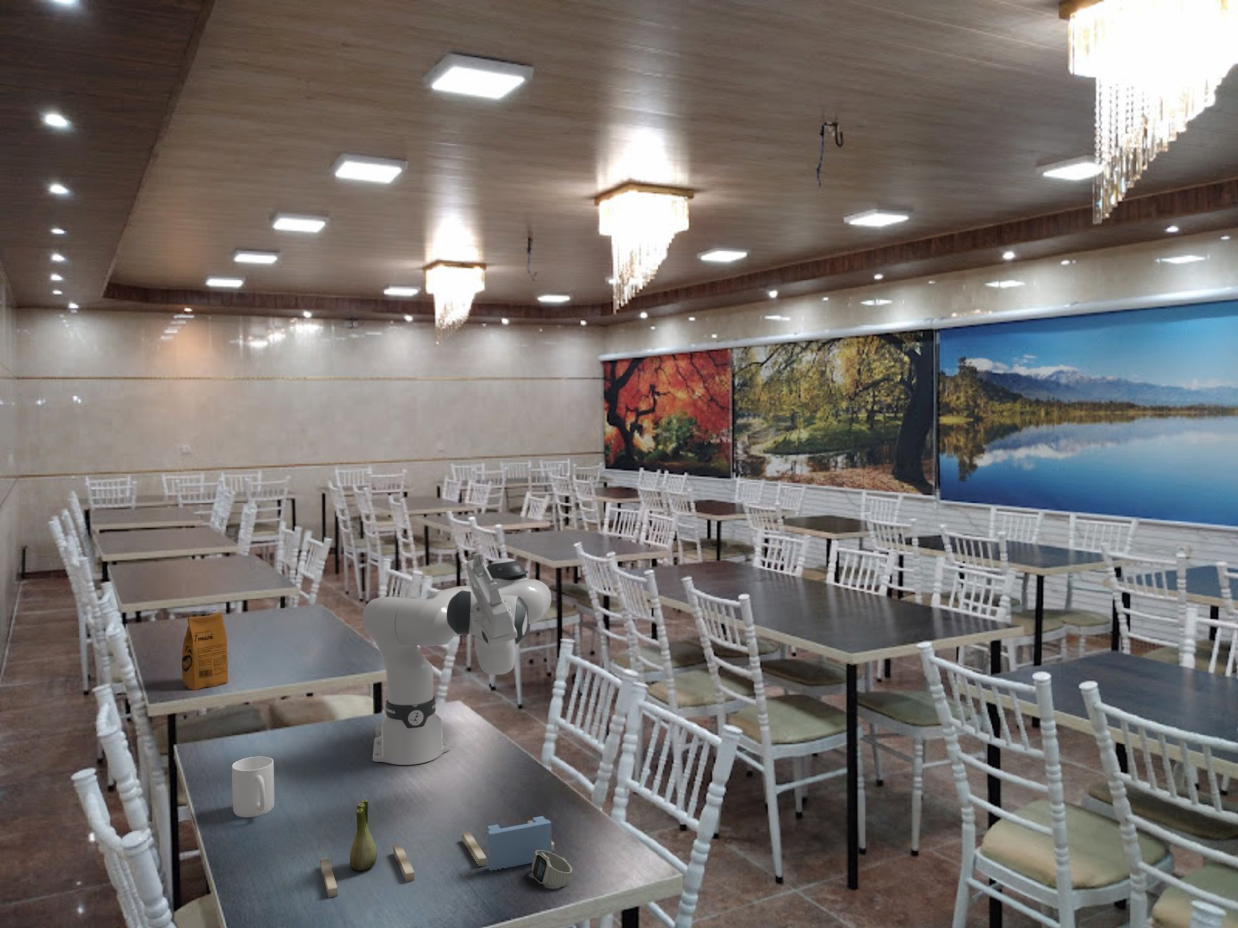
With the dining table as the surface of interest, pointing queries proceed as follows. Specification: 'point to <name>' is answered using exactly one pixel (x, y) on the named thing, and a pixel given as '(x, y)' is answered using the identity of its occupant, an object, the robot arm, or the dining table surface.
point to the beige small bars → (406, 862)
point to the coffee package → (205, 652)
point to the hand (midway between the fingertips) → (484, 568)
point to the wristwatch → (551, 869)
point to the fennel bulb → (363, 841)
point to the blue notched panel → (517, 843)
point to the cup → (253, 786)
